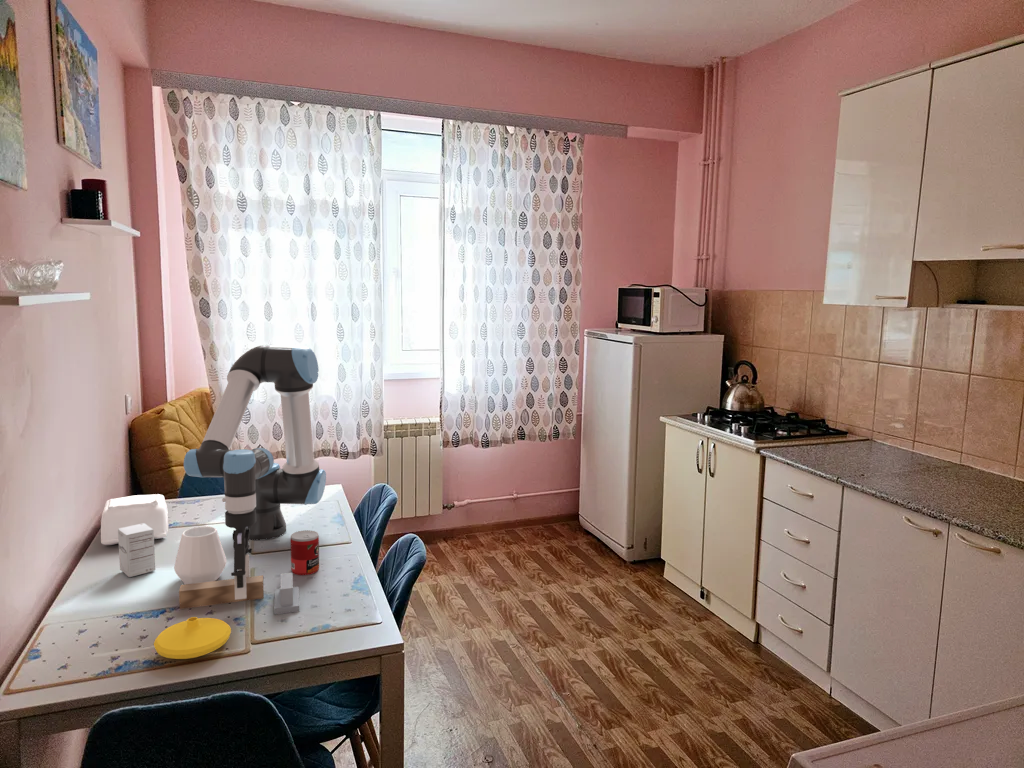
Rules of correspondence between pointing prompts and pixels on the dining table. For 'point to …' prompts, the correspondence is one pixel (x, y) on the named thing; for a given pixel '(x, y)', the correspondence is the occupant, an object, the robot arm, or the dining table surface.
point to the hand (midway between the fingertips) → (242, 587)
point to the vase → (192, 638)
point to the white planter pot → (200, 556)
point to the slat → (218, 592)
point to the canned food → (304, 552)
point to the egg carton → (134, 516)
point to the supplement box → (136, 549)
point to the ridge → (286, 595)
